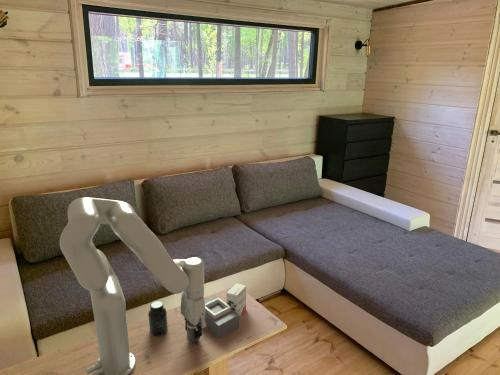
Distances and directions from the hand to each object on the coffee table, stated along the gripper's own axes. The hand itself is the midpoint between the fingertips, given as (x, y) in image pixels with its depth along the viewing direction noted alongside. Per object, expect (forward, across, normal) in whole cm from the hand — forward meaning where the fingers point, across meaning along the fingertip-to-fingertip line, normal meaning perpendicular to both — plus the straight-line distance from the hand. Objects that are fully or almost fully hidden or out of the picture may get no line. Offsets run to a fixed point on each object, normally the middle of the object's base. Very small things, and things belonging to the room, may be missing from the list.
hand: (193, 332), depth 139 cm
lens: (+2, 0, 0) cm, 2 cm away
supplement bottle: (+4, -14, -7) cm, 16 cm away
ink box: (+3, -2, +23) cm, 23 cm away
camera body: (+3, -3, +13) cm, 14 cm away
